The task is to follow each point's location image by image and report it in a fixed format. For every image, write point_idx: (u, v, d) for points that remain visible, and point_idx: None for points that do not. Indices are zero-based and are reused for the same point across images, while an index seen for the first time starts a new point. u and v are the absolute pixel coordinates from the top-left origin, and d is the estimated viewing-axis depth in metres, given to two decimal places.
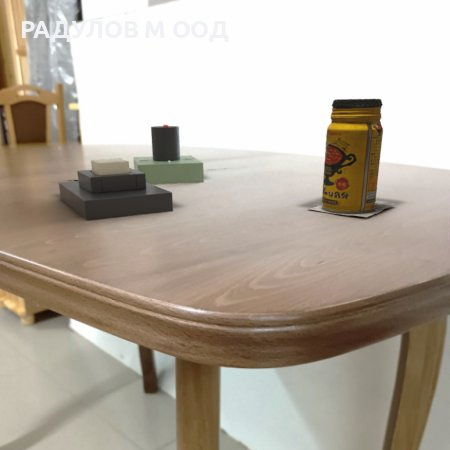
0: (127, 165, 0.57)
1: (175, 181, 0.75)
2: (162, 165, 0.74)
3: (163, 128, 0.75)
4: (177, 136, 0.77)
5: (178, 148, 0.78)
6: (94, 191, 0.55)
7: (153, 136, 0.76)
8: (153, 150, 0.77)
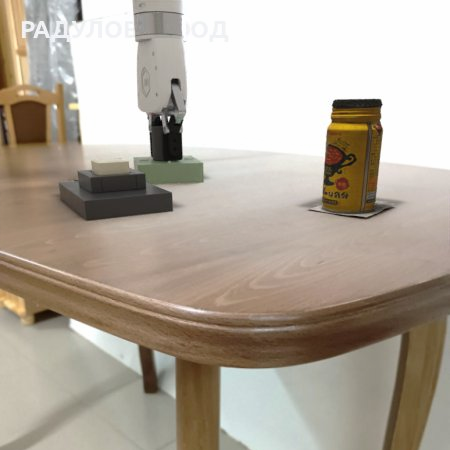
0: (127, 165, 0.57)
1: (175, 181, 0.75)
2: (162, 165, 0.74)
3: None
4: None
5: None
6: (94, 191, 0.55)
7: (153, 136, 0.76)
8: (153, 150, 0.77)
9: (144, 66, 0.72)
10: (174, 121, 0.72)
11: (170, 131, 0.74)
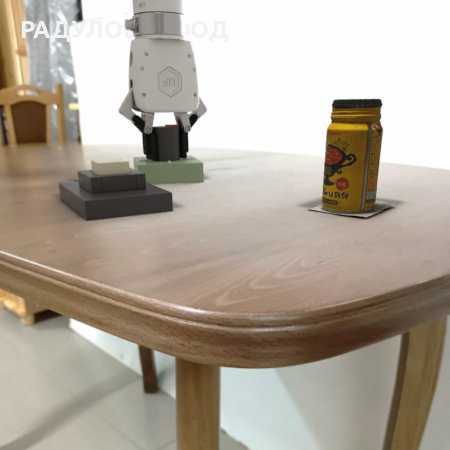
0: (127, 165, 0.57)
1: (175, 181, 0.75)
2: (162, 165, 0.74)
3: (178, 127, 0.77)
4: None
5: None
6: (94, 191, 0.55)
7: (172, 136, 0.76)
8: (171, 150, 0.77)
9: (169, 65, 0.71)
10: (196, 119, 0.78)
11: (189, 129, 0.78)
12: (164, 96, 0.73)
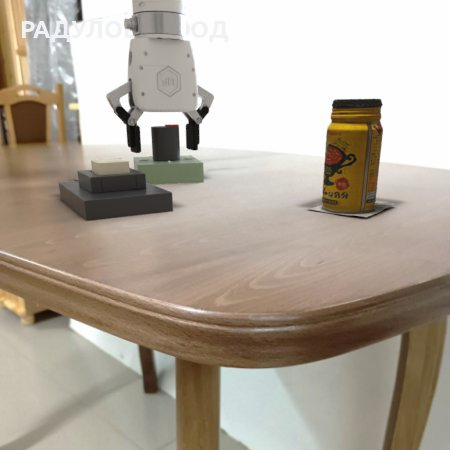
0: (127, 165, 0.57)
1: (175, 181, 0.75)
2: (162, 165, 0.74)
3: (178, 127, 0.77)
4: None
5: None
6: (94, 191, 0.55)
7: (172, 136, 0.76)
8: (171, 150, 0.77)
9: (168, 65, 0.71)
10: None
11: (200, 121, 0.79)
12: (163, 96, 0.72)
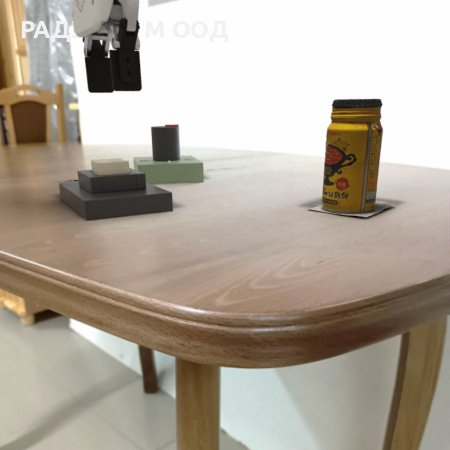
0: (127, 165, 0.57)
1: (175, 181, 0.75)
2: (162, 165, 0.74)
3: (178, 127, 0.77)
4: None
5: None
6: (94, 191, 0.55)
7: (172, 136, 0.76)
8: (171, 150, 0.77)
9: None
10: (126, 24, 0.49)
11: (121, 45, 0.50)
12: (79, 12, 0.54)
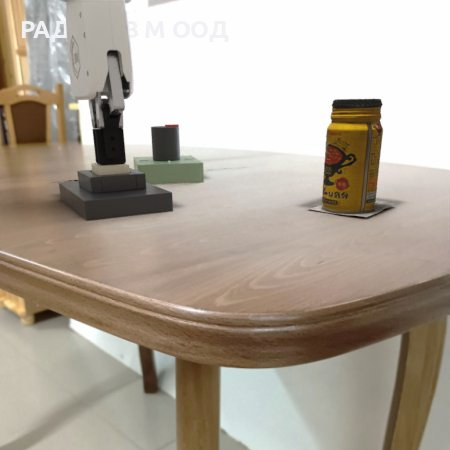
0: (128, 168, 0.58)
1: (175, 181, 0.75)
2: (162, 165, 0.74)
3: (178, 127, 0.77)
4: None
5: None
6: (94, 191, 0.55)
7: (172, 136, 0.76)
8: (171, 150, 0.77)
9: (72, 34, 0.52)
10: (108, 113, 0.53)
11: (105, 126, 0.55)
12: (75, 78, 0.54)
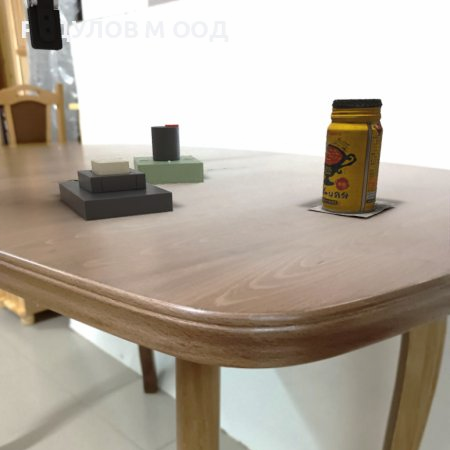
0: (127, 165, 0.57)
1: (175, 181, 0.75)
2: (162, 165, 0.74)
3: (178, 127, 0.77)
4: None
5: None
6: (94, 191, 0.55)
7: (172, 136, 0.76)
8: (171, 150, 0.77)
9: None
10: None
11: (38, 3, 0.52)
12: None
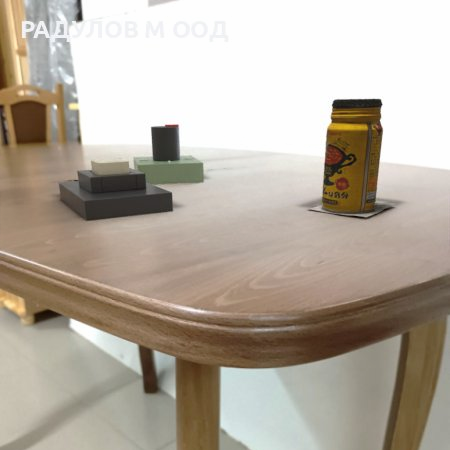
0: (127, 165, 0.57)
1: (175, 181, 0.75)
2: (162, 165, 0.74)
3: (178, 127, 0.77)
4: None
5: None
6: (94, 191, 0.55)
7: (172, 136, 0.76)
8: (171, 150, 0.77)
9: None
10: None
11: None
12: None
